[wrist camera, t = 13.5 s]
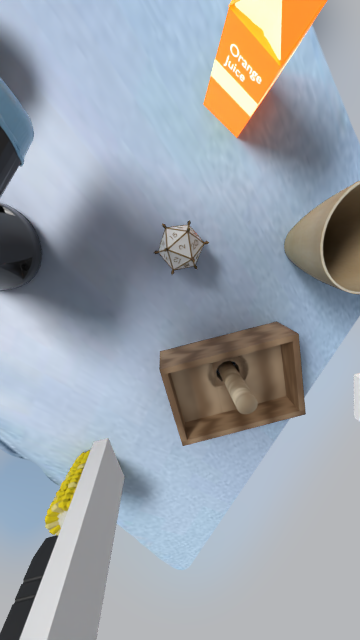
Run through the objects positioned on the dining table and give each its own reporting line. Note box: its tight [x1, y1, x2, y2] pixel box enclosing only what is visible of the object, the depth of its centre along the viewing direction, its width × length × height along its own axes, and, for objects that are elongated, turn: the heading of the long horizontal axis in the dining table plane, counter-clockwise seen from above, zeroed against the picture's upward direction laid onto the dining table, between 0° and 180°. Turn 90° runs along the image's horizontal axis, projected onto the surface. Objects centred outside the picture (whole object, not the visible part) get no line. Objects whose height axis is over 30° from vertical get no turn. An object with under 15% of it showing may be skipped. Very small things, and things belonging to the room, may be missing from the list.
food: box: [45, 450, 90, 535], centre depth 48 cm, size 15×12×10 cm
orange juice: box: [204, 0, 327, 137], centre depth 26 cm, size 8×9×20 cm
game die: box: [154, 220, 209, 274], centre depth 38 cm, size 9×8×10 cm
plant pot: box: [284, 181, 360, 294], centre depth 36 cm, size 15×15×16 cm
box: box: [160, 322, 306, 446], centre depth 46 cm, size 26×18×8 cm
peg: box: [218, 361, 258, 414], centre depth 43 cm, size 4×4×14 cm
